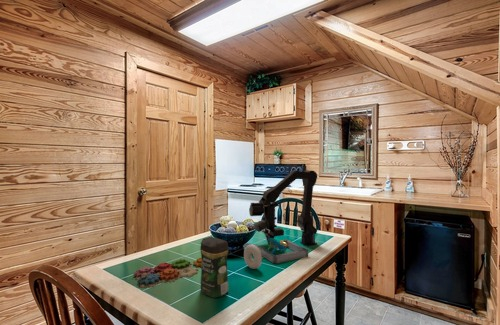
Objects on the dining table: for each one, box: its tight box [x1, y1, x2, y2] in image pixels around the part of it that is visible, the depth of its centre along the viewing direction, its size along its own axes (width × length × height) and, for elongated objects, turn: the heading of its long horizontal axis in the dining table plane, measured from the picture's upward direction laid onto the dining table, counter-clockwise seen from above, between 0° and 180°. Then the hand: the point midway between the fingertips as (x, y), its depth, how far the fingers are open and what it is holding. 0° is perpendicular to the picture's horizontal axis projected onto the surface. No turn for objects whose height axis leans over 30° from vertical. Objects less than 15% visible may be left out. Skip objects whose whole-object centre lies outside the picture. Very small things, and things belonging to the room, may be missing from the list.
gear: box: [267, 238, 287, 254], centre depth 129 cm, size 11×6×10 cm
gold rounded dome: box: [279, 238, 292, 249], centre depth 139 cm, size 6×6×3 cm
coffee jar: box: [200, 235, 229, 299], centre depth 91 cm, size 10×8×19 cm
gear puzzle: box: [133, 257, 202, 289], centre depth 107 cm, size 31×16×4 cm, turn 124°
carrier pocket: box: [257, 240, 309, 265], centre depth 126 cm, size 19×16×3 cm
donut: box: [243, 243, 263, 270], centre depth 110 cm, size 10×4×10 cm, turn 40°
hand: (269, 245), depth 136 cm, fingers closed
